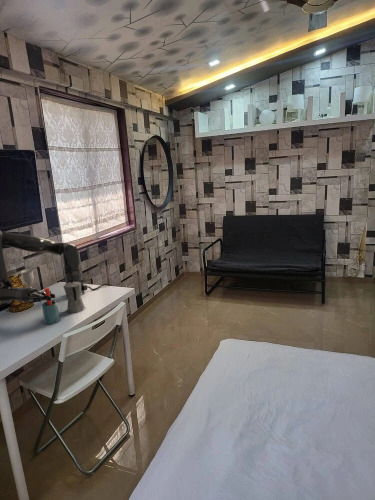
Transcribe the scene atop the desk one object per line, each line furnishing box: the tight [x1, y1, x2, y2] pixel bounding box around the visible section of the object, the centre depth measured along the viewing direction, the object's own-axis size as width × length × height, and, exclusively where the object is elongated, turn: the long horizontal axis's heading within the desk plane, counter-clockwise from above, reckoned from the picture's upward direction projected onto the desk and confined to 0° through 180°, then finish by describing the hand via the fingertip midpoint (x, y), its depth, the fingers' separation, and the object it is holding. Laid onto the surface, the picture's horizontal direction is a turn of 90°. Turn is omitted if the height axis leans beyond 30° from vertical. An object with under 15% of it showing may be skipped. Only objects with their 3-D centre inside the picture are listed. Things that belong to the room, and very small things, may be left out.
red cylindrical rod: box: [43, 287, 53, 306], centre depth 170 cm, size 2×2×14 cm
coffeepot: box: [63, 279, 85, 314], centre depth 183 cm, size 15×9×18 cm, turn 25°
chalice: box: [20, 268, 35, 288], centre depth 206 cm, size 7×7×18 cm
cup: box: [41, 300, 61, 325], centre depth 172 cm, size 7×7×10 cm
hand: (52, 297), depth 169 cm, fingers closed on red cylindrical rod, 2 cm apart
